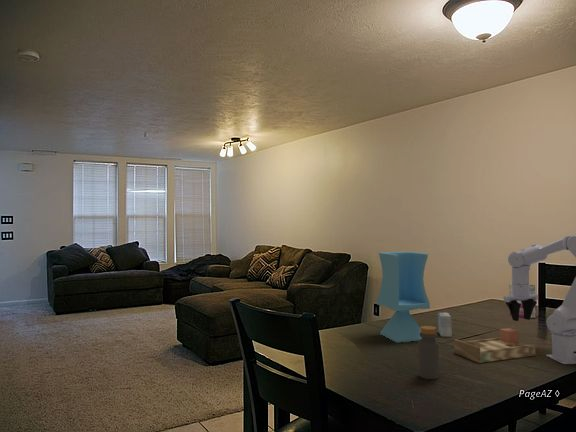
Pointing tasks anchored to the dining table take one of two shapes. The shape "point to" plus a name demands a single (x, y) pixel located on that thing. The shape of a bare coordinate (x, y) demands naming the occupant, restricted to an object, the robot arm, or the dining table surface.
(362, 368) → the dining table surface
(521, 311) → the candy bar box
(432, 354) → the bottle
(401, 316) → the blue pedestal chair
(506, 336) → the brick block
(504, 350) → the trap tray
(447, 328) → the medicine box
